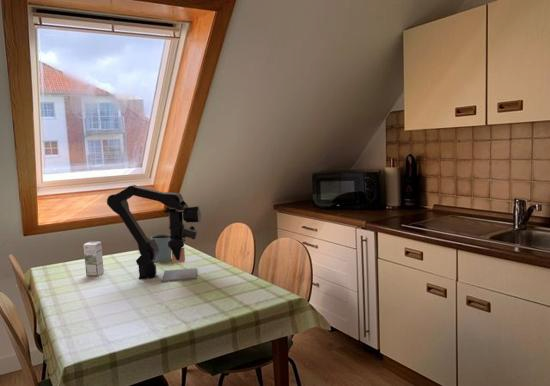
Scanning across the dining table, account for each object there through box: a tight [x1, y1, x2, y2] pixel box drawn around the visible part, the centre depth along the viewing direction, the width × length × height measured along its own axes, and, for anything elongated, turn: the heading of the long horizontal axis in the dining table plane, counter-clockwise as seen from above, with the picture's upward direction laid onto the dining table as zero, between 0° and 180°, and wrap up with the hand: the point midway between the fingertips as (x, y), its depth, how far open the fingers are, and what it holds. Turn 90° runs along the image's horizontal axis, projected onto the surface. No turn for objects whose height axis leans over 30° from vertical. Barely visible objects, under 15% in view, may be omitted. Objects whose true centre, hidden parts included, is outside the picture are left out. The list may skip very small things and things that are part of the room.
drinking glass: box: [149, 233, 172, 263], centre depth 219 cm, size 10×10×12 cm
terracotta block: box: [171, 247, 186, 264], centre depth 191 cm, size 5×5×5 cm
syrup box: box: [82, 241, 105, 277], centre depth 199 cm, size 6×6×14 cm
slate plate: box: [161, 267, 198, 283], centre depth 192 cm, size 14×14×1 cm
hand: (178, 258), depth 191 cm, fingers closed on terracotta block, 5 cm apart
